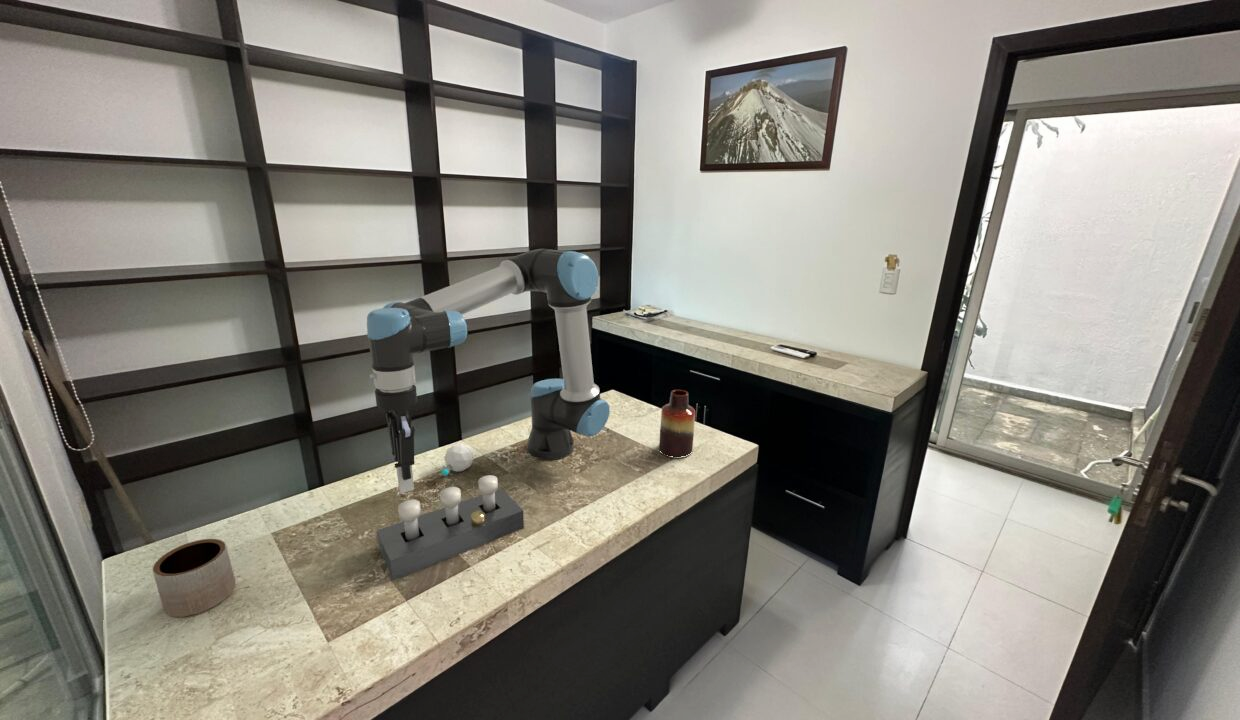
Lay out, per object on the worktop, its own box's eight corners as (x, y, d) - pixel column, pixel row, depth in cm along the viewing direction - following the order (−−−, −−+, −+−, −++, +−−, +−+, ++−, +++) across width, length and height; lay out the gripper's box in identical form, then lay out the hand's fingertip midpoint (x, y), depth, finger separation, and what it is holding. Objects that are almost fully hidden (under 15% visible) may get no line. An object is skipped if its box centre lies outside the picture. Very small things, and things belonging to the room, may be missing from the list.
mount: (502, 504, 128) (501, 488, 126) (523, 528, 119) (523, 510, 117) (378, 549, 110) (376, 530, 109) (392, 580, 101) (390, 560, 100)
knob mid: (458, 514, 116) (456, 484, 114) (465, 523, 113) (463, 493, 111) (440, 520, 114) (437, 490, 111) (446, 530, 110) (443, 499, 108)
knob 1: (419, 527, 111) (416, 497, 109) (425, 537, 108) (422, 506, 105) (399, 534, 108) (395, 504, 106) (404, 545, 105) (401, 514, 103)
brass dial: (481, 516, 115) (481, 509, 114) (486, 522, 113) (486, 515, 112) (469, 520, 113) (468, 513, 112) (474, 527, 111) (473, 520, 110)
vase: (669, 439, 167) (673, 384, 161) (697, 449, 161) (702, 391, 155) (652, 451, 159) (656, 393, 153) (682, 461, 153) (686, 401, 147)
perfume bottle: (483, 454, 146) (462, 479, 135) (465, 464, 150) (443, 489, 139) (467, 434, 144) (444, 457, 134) (449, 445, 148) (425, 468, 137)
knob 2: (494, 501, 122) (492, 473, 119) (501, 510, 118) (500, 481, 116) (477, 507, 119) (475, 478, 117) (484, 516, 116) (482, 487, 113)
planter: (153, 626, 89) (140, 583, 86) (177, 585, 98) (165, 545, 95) (227, 609, 93) (216, 567, 90) (243, 571, 102) (233, 532, 100)
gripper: (367, 380, 100) (380, 481, 107) (383, 400, 90) (396, 510, 97) (405, 374, 105) (415, 472, 111) (424, 392, 95) (434, 498, 102)
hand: (406, 489), depth 104 cm, fingers closed
